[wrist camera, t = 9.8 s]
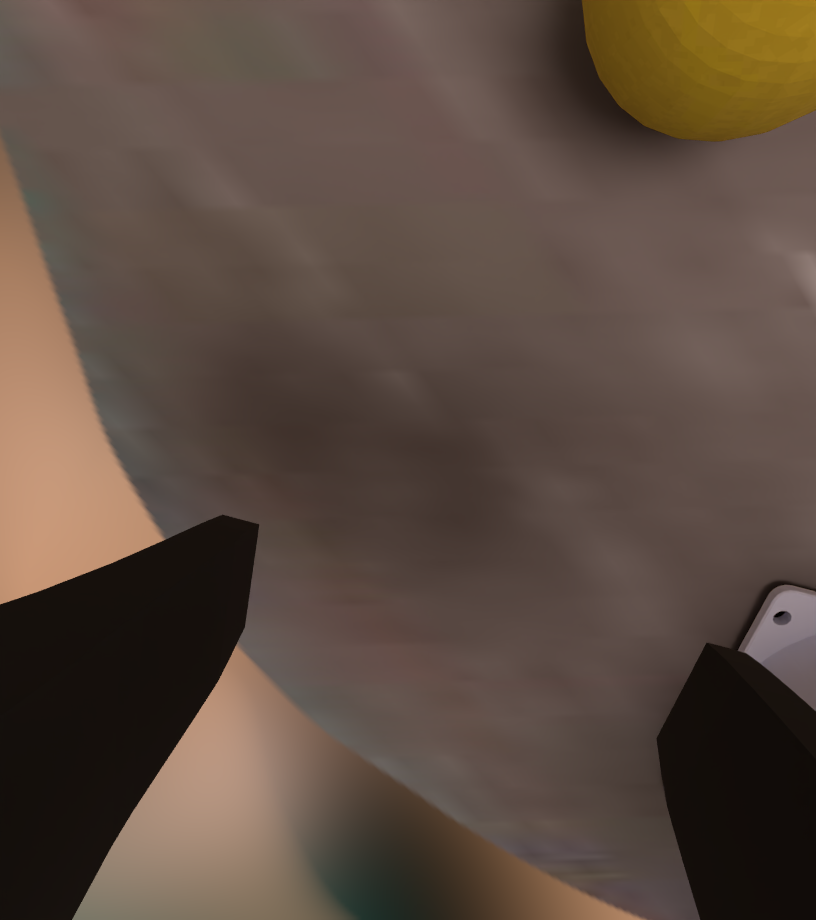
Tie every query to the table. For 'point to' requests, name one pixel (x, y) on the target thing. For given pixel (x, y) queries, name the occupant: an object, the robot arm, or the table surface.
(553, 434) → the table surface
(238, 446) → the table surface
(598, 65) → the lemon
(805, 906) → the robot arm
